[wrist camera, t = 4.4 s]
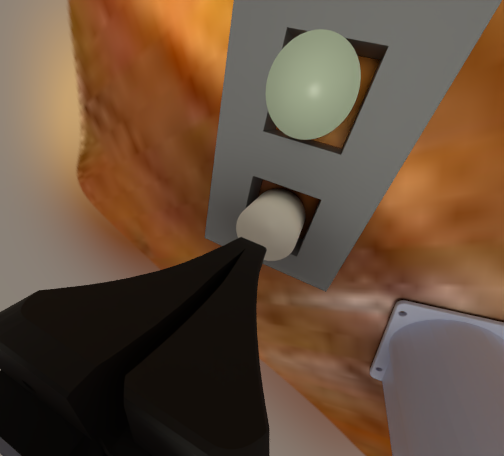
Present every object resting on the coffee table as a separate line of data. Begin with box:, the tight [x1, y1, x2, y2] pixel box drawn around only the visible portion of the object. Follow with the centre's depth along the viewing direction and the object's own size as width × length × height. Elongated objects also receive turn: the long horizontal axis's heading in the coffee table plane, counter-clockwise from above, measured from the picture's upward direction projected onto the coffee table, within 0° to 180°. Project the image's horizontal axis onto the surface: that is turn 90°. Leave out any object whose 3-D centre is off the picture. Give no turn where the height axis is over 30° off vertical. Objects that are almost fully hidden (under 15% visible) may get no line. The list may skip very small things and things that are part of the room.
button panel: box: [205, 0, 502, 291], centre depth 11 cm, size 22×10×2 cm, turn 166°
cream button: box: [236, 188, 306, 261], centre depth 13 cm, size 4×4×3 cm
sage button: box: [266, 29, 361, 140], centre depth 10 cm, size 4×4×3 cm
